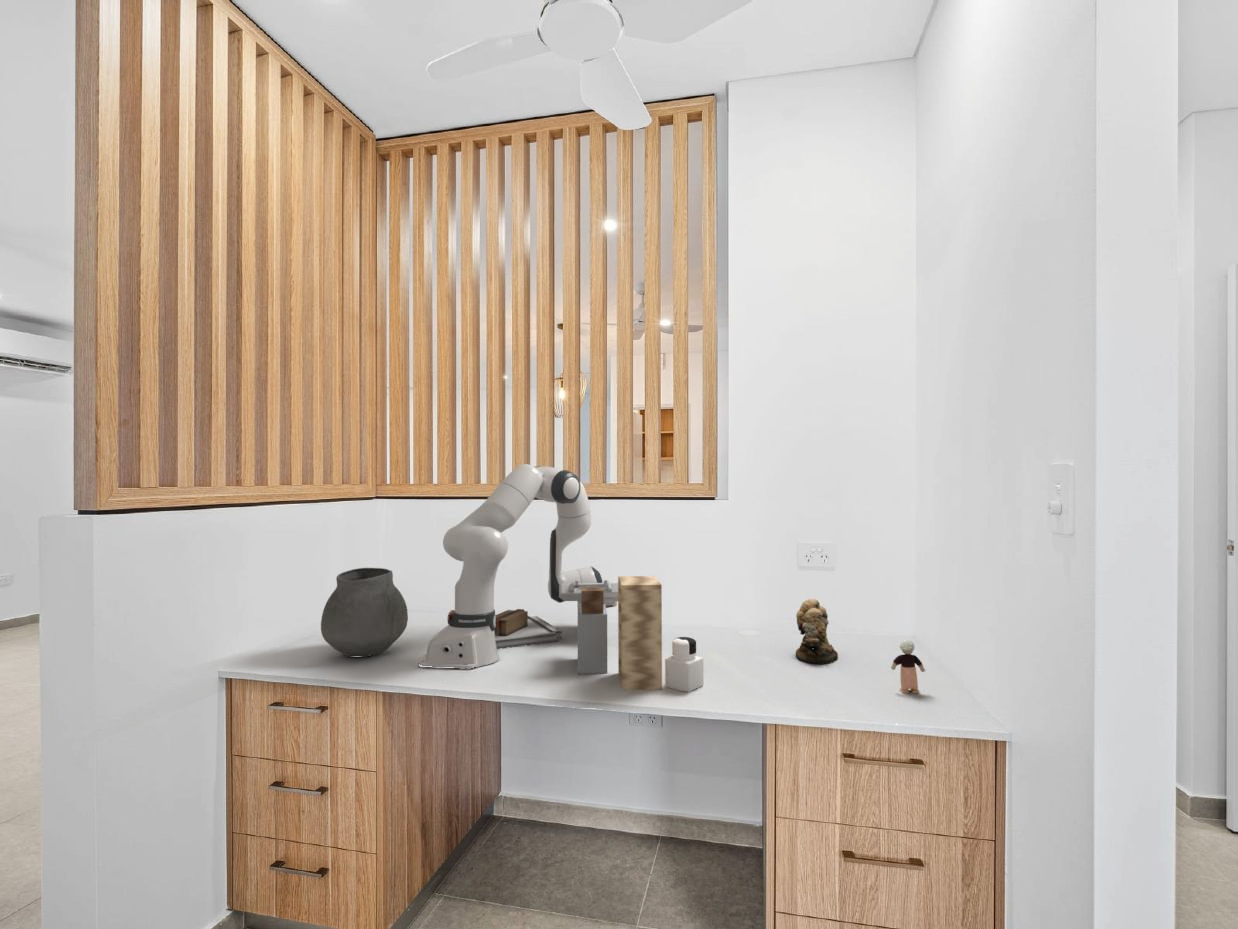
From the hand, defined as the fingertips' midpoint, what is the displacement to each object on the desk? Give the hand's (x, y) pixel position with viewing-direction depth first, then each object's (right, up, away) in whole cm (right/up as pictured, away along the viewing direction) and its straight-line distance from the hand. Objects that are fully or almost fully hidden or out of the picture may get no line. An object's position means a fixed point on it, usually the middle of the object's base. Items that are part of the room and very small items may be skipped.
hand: (591, 582), depth 196 cm
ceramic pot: (-68, -20, -7) cm, 71 cm away
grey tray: (-29, -21, +15) cm, 39 cm away
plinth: (+1, -20, -19) cm, 28 cm away
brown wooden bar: (+1, -4, -16) cm, 17 cm away
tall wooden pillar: (+14, -19, -32) cm, 40 cm away
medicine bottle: (+25, -19, -37) cm, 49 cm away
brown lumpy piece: (+67, -20, -11) cm, 71 cm away
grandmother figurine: (+80, -19, -41) cm, 92 cm away
